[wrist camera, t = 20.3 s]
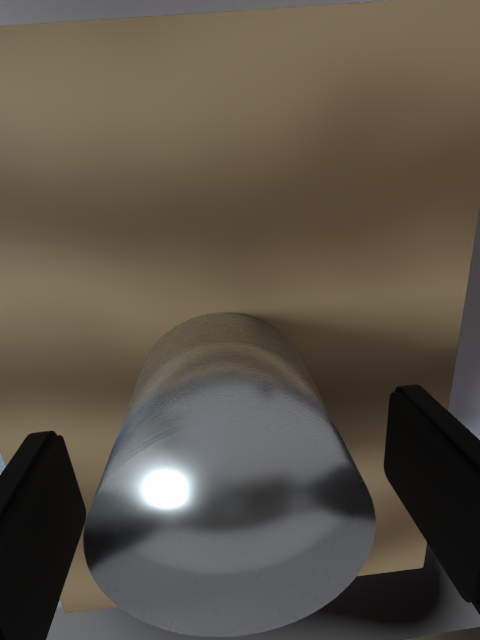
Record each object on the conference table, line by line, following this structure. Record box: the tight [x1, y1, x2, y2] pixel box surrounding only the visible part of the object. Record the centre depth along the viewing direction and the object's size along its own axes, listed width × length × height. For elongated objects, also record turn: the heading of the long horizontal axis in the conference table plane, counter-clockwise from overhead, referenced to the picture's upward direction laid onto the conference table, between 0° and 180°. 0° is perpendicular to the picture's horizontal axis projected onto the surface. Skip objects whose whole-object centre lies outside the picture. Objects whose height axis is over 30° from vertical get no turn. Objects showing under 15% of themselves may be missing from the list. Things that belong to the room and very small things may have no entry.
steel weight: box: [83, 312, 376, 637], centre depth 10 cm, size 6×6×6 cm
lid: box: [0, 0, 480, 613], centre depth 13 cm, size 22×17×1 cm
